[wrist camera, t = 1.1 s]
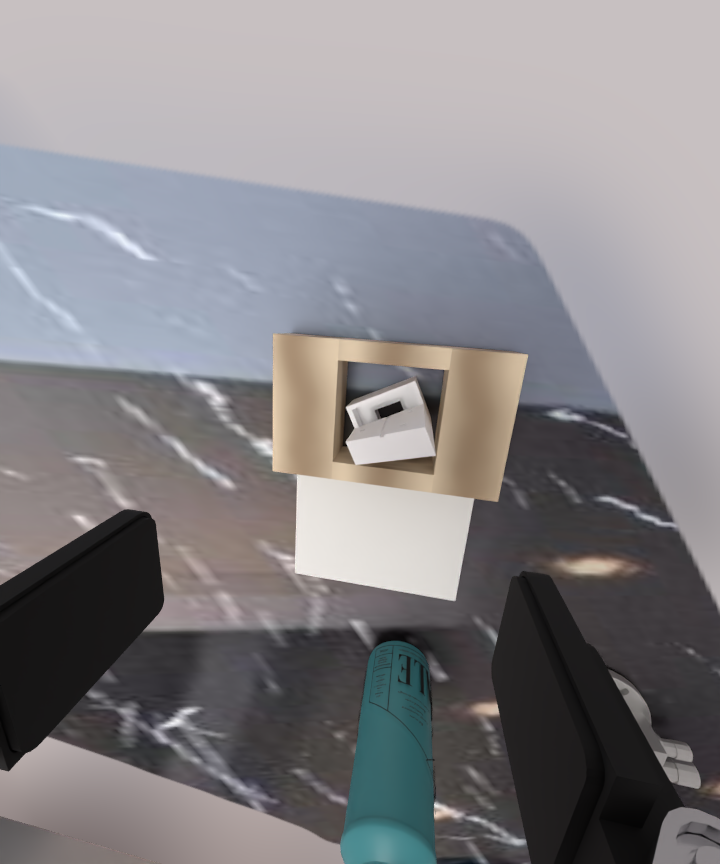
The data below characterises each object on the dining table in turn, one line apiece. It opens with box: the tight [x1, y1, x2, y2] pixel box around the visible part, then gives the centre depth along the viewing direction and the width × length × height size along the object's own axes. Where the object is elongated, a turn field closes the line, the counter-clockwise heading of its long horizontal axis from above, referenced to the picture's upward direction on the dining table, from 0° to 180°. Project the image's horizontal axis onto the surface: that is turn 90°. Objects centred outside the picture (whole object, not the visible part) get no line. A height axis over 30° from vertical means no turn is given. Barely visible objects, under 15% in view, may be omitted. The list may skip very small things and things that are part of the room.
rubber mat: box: [295, 474, 474, 601], centre depth 33 cm, size 16×11×1 cm
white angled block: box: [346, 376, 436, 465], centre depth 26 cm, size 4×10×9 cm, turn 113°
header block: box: [273, 333, 528, 502], centre depth 28 cm, size 18×11×4 cm, turn 86°
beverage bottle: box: [340, 641, 437, 864], centre depth 28 cm, size 6×7×20 cm
